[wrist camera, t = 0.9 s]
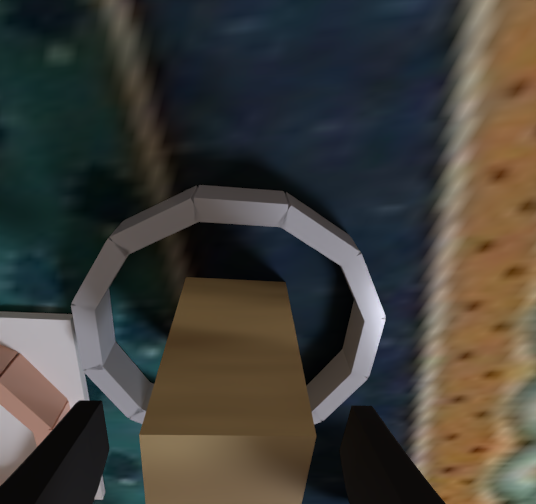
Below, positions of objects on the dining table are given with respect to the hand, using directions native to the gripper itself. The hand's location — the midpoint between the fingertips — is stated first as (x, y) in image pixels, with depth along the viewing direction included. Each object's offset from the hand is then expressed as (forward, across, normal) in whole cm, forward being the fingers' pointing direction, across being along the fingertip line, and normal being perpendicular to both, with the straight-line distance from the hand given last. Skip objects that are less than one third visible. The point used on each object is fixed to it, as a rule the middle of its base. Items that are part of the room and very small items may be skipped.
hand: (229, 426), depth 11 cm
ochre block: (+5, 0, 0) cm, 5 cm away
